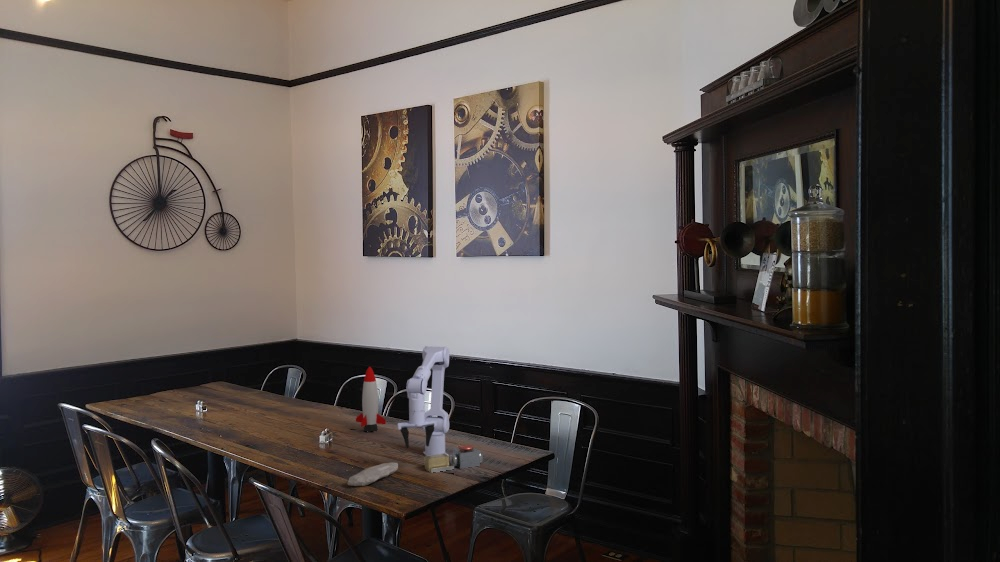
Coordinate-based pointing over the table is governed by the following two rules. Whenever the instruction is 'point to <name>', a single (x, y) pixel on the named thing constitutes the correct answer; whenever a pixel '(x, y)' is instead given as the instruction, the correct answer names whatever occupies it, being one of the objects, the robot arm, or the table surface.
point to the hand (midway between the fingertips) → (417, 446)
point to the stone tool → (372, 474)
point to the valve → (463, 458)
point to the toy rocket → (370, 404)
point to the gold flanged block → (436, 461)
